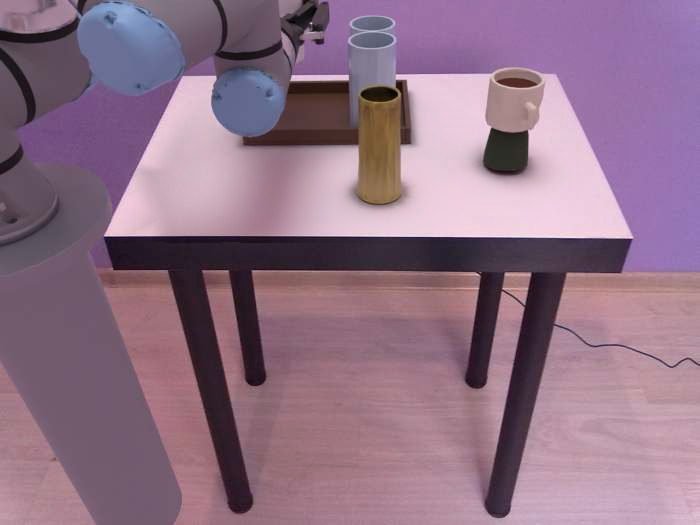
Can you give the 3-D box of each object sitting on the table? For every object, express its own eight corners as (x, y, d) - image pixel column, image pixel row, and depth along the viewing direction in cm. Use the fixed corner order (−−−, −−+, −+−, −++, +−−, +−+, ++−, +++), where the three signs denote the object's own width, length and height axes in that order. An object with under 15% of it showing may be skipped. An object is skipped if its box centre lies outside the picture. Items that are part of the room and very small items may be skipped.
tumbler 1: (351, 117, 102) (348, 31, 93) (352, 98, 107) (350, 15, 98) (394, 117, 101) (395, 30, 92) (393, 98, 107) (394, 15, 98)
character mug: (545, 180, 86) (564, 91, 77) (498, 188, 84) (511, 98, 76) (510, 142, 94) (523, 58, 85) (466, 150, 92) (475, 65, 84)
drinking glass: (302, 49, 98) (293, -55, 89) (316, 64, 94) (308, -44, 84) (261, 56, 97) (247, -48, 87) (273, 72, 92) (260, -37, 82)
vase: (384, 210, 81) (385, 109, 72) (347, 195, 84) (344, 96, 75) (410, 189, 85) (414, 90, 76) (373, 175, 88) (373, 78, 79)
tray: (243, 145, 96) (241, 129, 94) (260, 95, 109) (258, 81, 107) (410, 143, 94) (411, 128, 93) (406, 93, 108) (406, 79, 106)
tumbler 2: (349, 138, 96) (347, 49, 87) (351, 117, 102) (348, 31, 93) (395, 138, 96) (396, 48, 87) (394, 117, 101) (395, 30, 92)
